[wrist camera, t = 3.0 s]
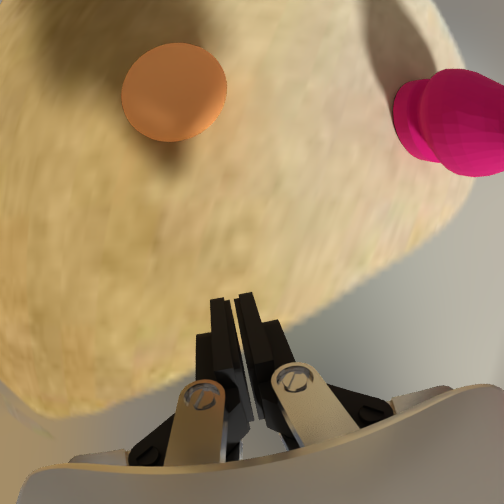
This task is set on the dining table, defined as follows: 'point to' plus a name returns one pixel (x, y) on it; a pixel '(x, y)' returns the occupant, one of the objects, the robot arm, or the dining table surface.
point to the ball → (174, 92)
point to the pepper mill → (453, 121)
